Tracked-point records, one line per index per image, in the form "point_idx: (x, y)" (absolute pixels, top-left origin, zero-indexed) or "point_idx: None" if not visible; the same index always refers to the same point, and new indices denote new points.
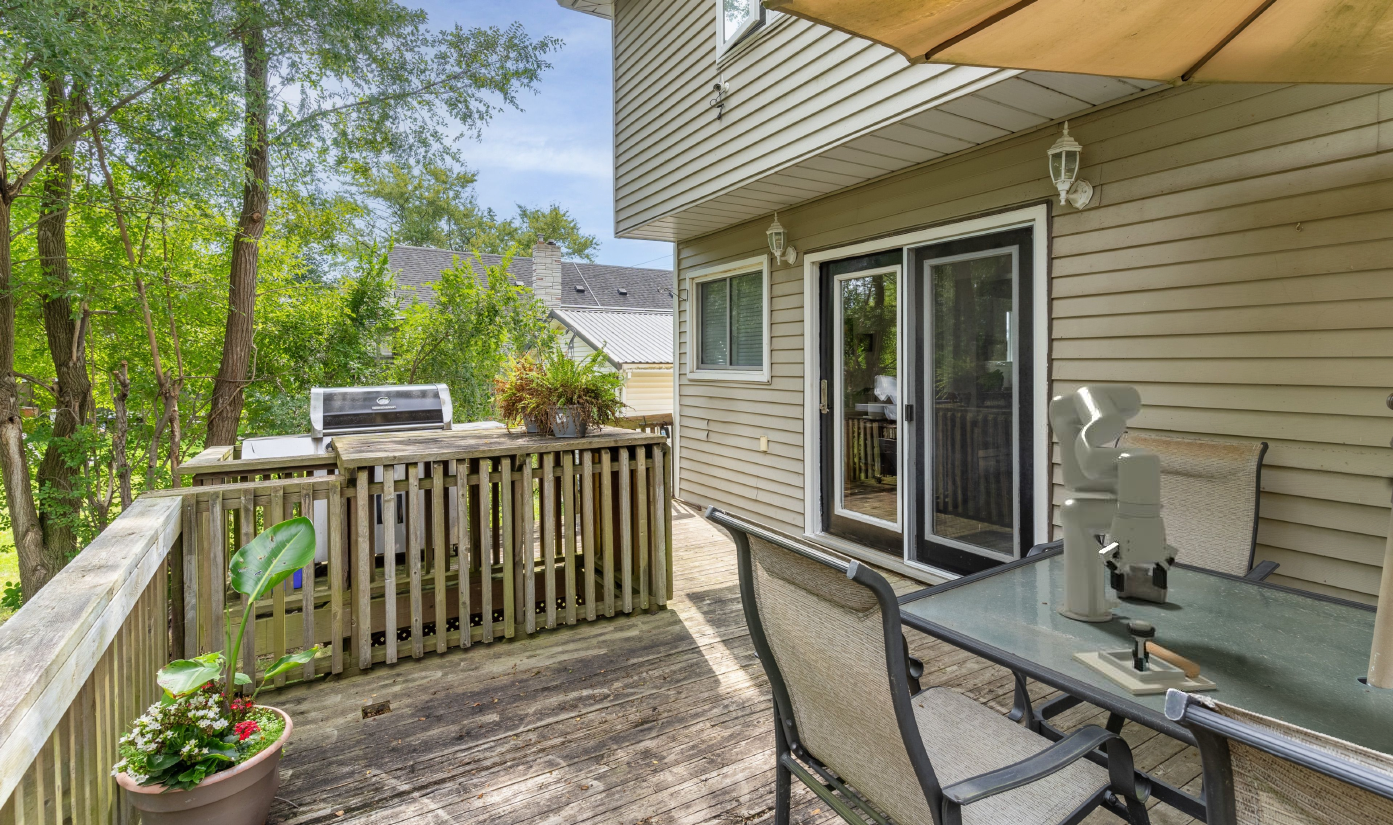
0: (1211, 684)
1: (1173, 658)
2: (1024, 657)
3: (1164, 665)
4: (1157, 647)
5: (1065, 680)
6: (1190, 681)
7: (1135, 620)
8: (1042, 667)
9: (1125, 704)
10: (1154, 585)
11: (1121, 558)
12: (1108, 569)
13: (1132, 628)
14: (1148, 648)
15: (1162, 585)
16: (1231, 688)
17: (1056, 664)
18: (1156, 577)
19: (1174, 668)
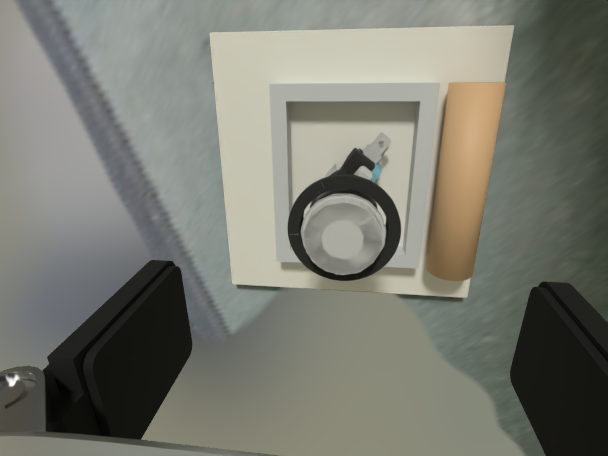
0: (453, 295)
1: (443, 221)
2: (63, 7)
3: (408, 210)
4: (467, 141)
5: (118, 185)
6: (413, 275)
7: (338, 216)
8: (91, 95)
9: (190, 310)
10: (528, 303)
11: (153, 444)
12: (4, 378)
13: (296, 239)
14: (451, 113)
15: (522, 389)
16: (506, 295)
17: (140, 79)
18: (561, 379)
19: (406, 247)
